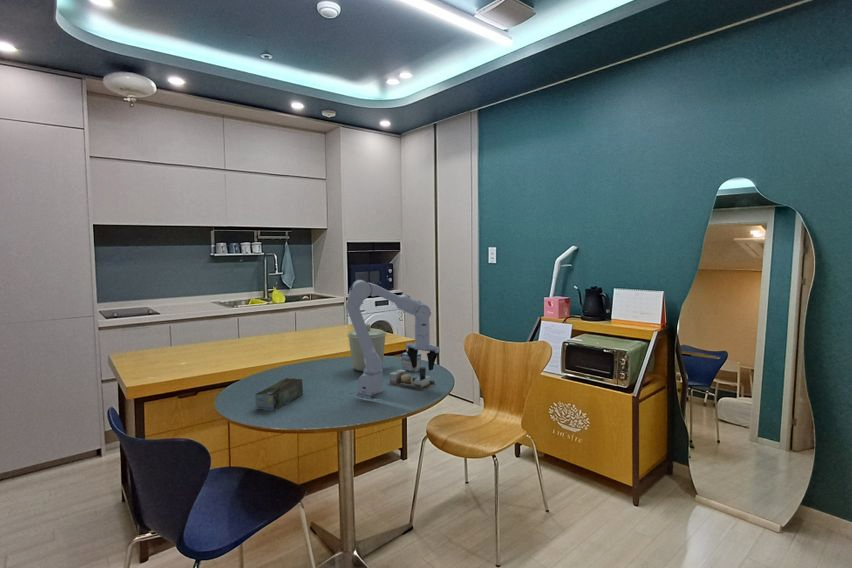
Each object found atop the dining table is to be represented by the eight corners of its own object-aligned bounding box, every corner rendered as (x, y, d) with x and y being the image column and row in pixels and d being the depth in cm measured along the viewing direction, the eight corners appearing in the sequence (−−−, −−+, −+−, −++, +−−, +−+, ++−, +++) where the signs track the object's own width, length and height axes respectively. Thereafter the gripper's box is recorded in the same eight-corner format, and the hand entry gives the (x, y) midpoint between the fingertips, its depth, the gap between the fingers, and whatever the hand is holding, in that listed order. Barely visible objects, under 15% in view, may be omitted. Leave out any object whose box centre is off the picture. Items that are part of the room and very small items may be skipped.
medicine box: (401, 372, 203) (401, 353, 202) (406, 370, 207) (406, 351, 206) (416, 375, 199) (416, 355, 198) (421, 372, 203) (421, 353, 202)
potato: (407, 385, 180) (407, 377, 179) (399, 383, 182) (398, 376, 182) (412, 382, 183) (412, 375, 183) (404, 380, 185) (404, 373, 185)
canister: (353, 363, 220) (352, 320, 218) (390, 364, 218) (389, 320, 216) (343, 374, 202) (342, 327, 200) (383, 374, 200) (382, 327, 198)
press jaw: (421, 388, 174) (420, 370, 174) (414, 387, 176) (414, 369, 175) (430, 383, 180) (430, 366, 180) (424, 382, 182) (424, 365, 181)
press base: (422, 394, 173) (422, 380, 172) (385, 387, 182) (385, 374, 181) (435, 387, 181) (435, 374, 181) (400, 381, 190) (399, 368, 190)
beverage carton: (254, 410, 159) (253, 391, 158) (286, 393, 177) (285, 376, 176) (274, 412, 156) (273, 393, 156) (304, 394, 175) (303, 378, 174)
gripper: (443, 334, 176) (443, 368, 177) (412, 331, 184) (413, 363, 185) (434, 337, 170) (434, 373, 171) (402, 334, 178) (403, 367, 179)
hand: (422, 368), depth 178 cm, fingers open, 7 cm apart
